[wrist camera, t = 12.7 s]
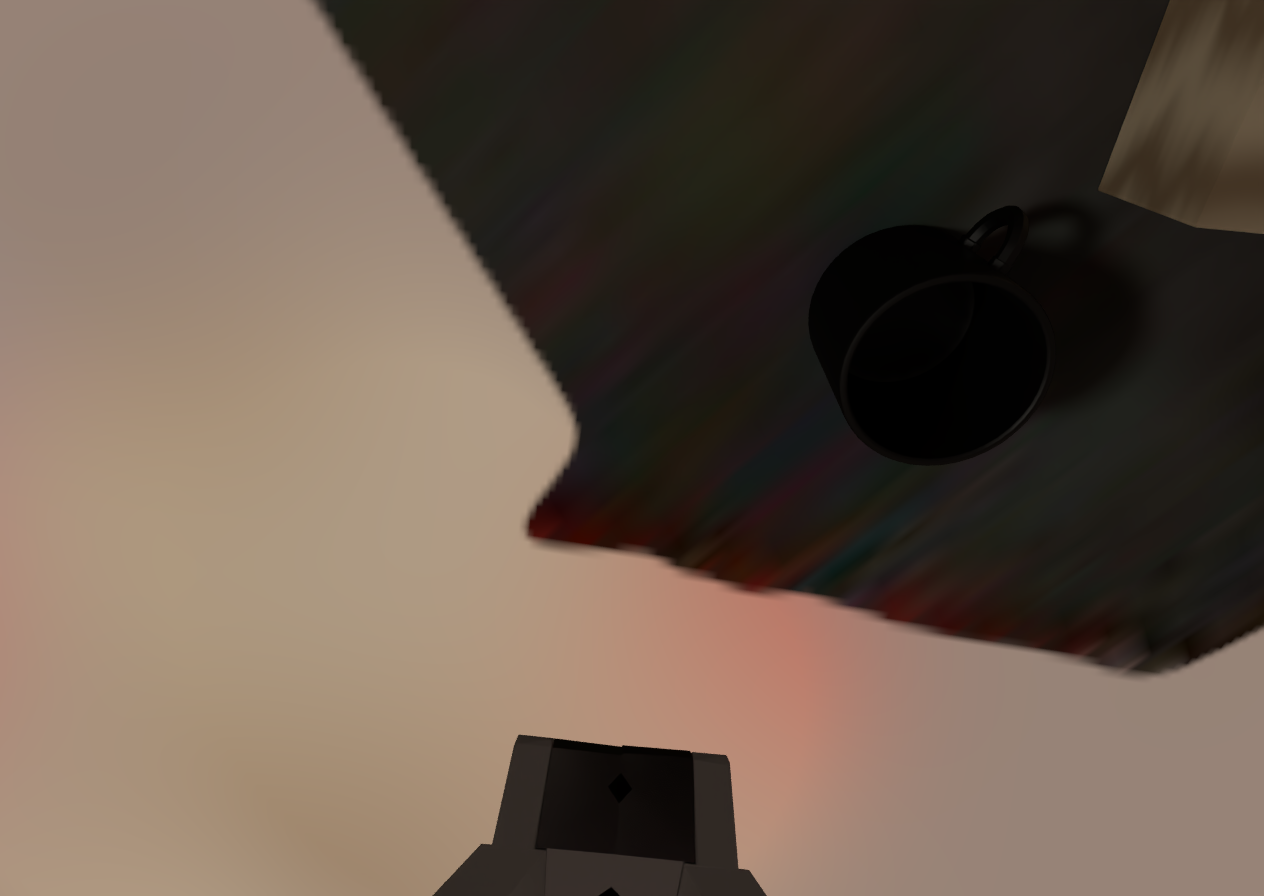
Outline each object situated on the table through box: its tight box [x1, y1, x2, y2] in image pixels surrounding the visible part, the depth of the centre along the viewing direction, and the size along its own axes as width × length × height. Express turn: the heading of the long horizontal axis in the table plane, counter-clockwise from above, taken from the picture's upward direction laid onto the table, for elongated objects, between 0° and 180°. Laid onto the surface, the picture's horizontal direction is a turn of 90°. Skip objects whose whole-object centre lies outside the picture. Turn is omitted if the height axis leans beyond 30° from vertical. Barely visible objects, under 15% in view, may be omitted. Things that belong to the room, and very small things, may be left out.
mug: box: [808, 206, 1056, 466], centre depth 37 cm, size 9×12×9 cm
